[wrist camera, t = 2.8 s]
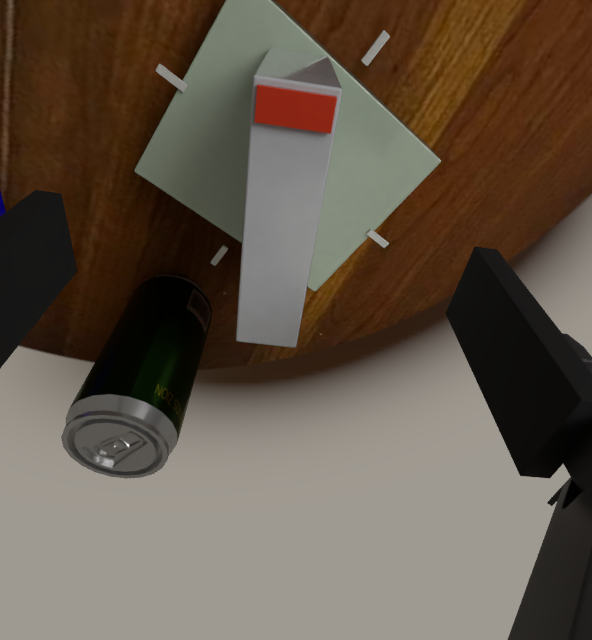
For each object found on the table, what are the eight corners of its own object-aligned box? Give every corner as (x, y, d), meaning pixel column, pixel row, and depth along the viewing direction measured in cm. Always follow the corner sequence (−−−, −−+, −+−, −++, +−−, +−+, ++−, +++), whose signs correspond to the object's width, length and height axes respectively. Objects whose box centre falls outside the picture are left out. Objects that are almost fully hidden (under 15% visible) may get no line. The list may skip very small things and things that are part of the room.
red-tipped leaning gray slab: (297, 256, 25) (296, 352, 18) (252, 251, 24) (234, 345, 18) (329, 56, 19) (344, 90, 12) (269, 46, 18) (252, 76, 12)
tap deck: (474, 128, 23) (492, 141, 21) (307, 300, 30) (307, 324, 27) (253, -100, 17) (246, -113, 15) (113, 174, 24) (95, 191, 22)
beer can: (176, 256, 28) (110, 394, 18) (229, 312, 30) (195, 459, 21) (119, 294, 29) (32, 438, 20) (173, 343, 32) (119, 491, 23)
